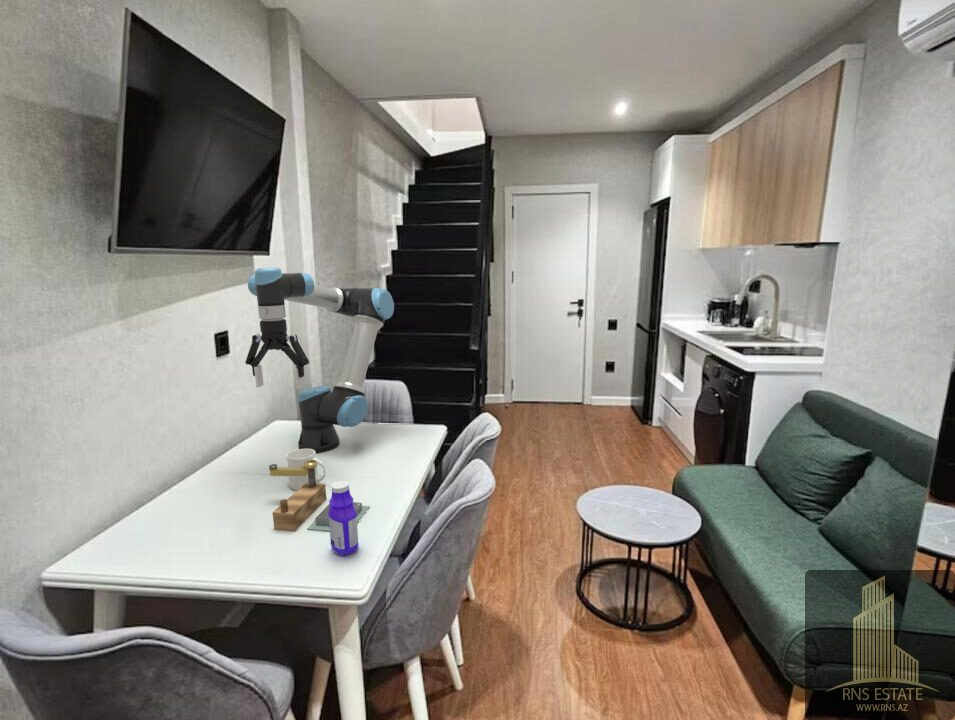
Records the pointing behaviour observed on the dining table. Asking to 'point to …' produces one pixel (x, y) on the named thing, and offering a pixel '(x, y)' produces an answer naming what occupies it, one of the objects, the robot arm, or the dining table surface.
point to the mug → (296, 461)
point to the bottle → (342, 520)
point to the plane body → (299, 504)
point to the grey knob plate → (324, 517)
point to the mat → (327, 528)
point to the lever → (292, 469)
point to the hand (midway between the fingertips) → (279, 386)
